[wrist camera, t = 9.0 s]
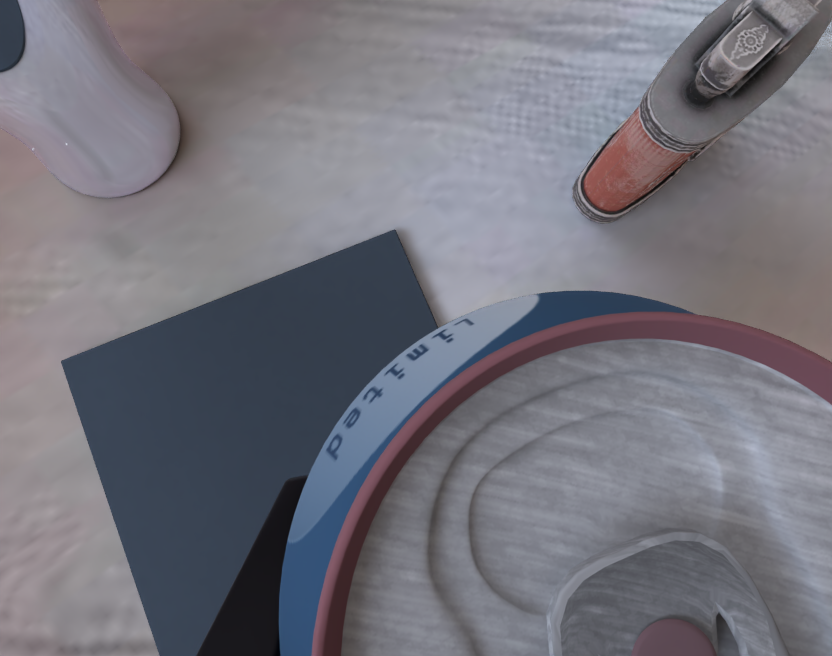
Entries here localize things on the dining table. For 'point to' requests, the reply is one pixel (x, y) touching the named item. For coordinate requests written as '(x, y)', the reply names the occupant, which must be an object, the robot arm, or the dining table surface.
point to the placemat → (233, 417)
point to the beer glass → (82, 99)
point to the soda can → (572, 492)
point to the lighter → (700, 98)
